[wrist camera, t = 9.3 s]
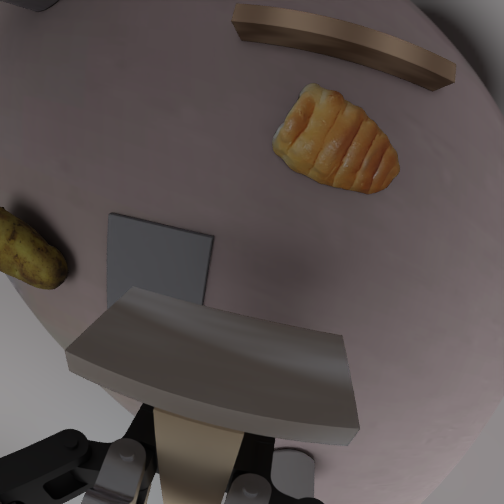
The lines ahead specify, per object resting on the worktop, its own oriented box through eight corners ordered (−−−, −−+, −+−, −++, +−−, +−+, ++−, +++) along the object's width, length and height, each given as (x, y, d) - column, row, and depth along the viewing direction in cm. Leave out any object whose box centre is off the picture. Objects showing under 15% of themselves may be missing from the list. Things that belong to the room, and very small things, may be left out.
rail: (241, 40, 19) (231, 21, 16) (245, 24, 19) (236, 3, 15) (432, 91, 18) (454, 82, 15) (434, 75, 18) (456, 64, 14)
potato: (54, 301, 30) (11, 332, 23) (3, 220, 28) (-42, 237, 21) (84, 264, 28) (33, 296, 20) (26, 175, 26) (-27, 186, 18)
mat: (112, 342, 30) (109, 345, 30) (112, 212, 25) (108, 214, 25) (194, 370, 30) (192, 374, 29) (213, 236, 25) (211, 238, 24)
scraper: (274, 474, 14) (266, 537, 10) (143, 440, 14) (115, 496, 10) (342, 335, 10) (360, 431, 6) (133, 286, 11) (62, 352, 7)
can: (272, 440, 32) (261, 520, 21) (324, 452, 32) (325, 528, 21) (252, 464, 35) (238, 533, 23) (299, 475, 34) (294, 542, 23)
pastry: (407, 143, 20) (425, 142, 17) (367, 213, 23) (380, 224, 19) (304, 81, 20) (306, 68, 17) (264, 154, 22) (258, 154, 19)
